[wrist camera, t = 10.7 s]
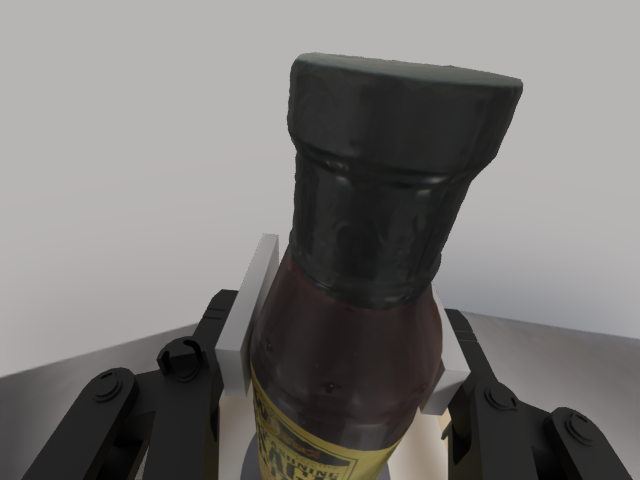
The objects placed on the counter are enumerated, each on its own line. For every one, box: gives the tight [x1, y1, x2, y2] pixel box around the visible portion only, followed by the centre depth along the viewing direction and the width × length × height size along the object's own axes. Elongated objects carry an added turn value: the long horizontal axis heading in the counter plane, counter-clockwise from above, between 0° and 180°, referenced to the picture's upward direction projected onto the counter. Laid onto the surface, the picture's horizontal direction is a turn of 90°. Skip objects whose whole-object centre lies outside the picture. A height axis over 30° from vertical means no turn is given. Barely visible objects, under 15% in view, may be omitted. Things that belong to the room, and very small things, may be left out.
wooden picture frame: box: [218, 379, 451, 480], centre depth 17 cm, size 20×14×1 cm
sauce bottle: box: [249, 52, 523, 480], centre depth 11 cm, size 6×6×20 cm
